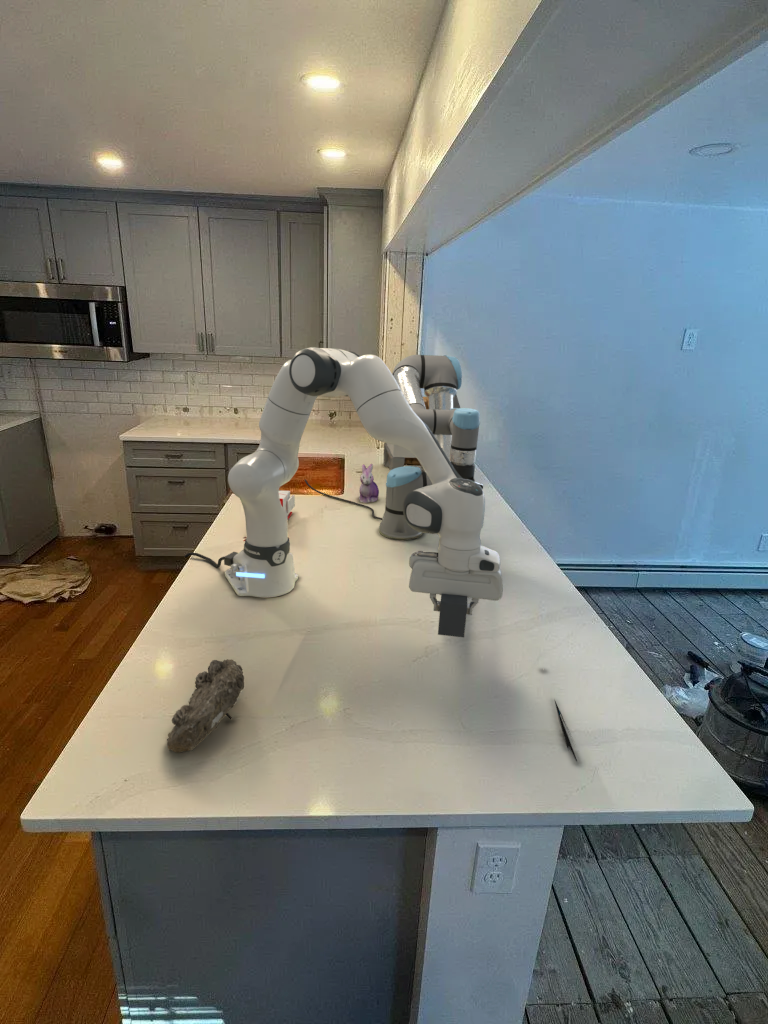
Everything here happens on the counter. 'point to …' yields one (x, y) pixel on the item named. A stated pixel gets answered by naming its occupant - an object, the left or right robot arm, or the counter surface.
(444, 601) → the post
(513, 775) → the counter surface
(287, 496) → the toy
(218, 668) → the fossil
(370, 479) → the figurine
